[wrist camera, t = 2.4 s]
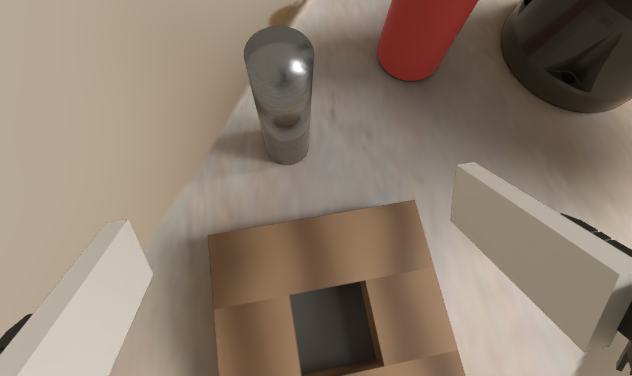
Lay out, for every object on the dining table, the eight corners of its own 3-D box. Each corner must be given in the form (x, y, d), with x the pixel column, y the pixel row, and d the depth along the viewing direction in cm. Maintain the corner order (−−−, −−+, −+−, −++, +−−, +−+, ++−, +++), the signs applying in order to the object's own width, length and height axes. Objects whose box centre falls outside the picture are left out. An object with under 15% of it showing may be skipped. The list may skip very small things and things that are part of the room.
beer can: (363, 52, 33) (394, -73, 22) (408, 24, 34) (460, -107, 23) (404, 95, 32) (462, -15, 20) (450, 64, 33) (527, -55, 22)
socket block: (401, 210, 28) (414, 199, 24) (457, 417, 23) (483, 439, 20) (219, 242, 26) (207, 235, 23) (240, 471, 21) (228, 504, 18)
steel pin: (304, 123, 30) (307, 22, 19) (312, 161, 29) (319, 78, 17) (263, 129, 30) (240, 29, 18) (269, 167, 28) (247, 87, 17)
